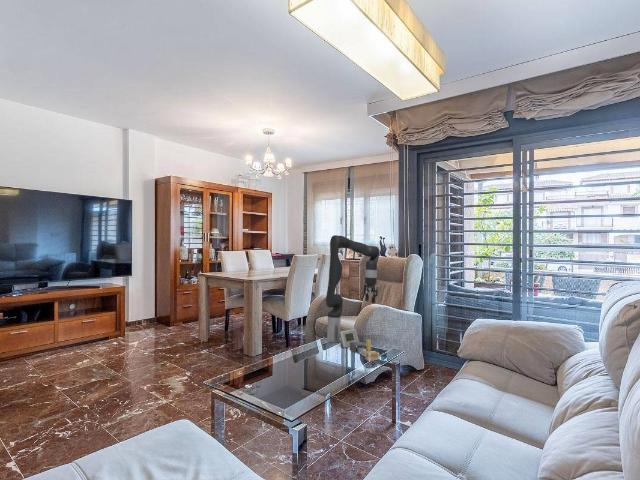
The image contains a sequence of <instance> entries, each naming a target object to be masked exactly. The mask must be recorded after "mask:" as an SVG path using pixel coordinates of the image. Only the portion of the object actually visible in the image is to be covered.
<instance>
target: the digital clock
mask: <svg viewBox="0 0 640 480" xmlns="http://www.w3.org/2000/svg"><path fill="white" fill-rule="evenodd" d="M357 332H358V331H357V330H356V328H352V329H351V328H350V329H344V330H340V342H339V343H340V345H339V346H340V347H341V348H343V349H348V348H349V349H350V342H360V341H359V337H358V333H357Z"/></svg>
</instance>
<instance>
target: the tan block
mask: <svg viewBox="0 0 640 480" xmlns="http://www.w3.org/2000/svg"><path fill="white" fill-rule="evenodd" d="M377 359H379V360H380V352H378V351H376V350H371V351H369V352H365V356H364V360H366V361H367V362H375V361H374V360H377Z"/></svg>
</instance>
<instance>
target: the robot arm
mask: <svg viewBox="0 0 640 480" xmlns="http://www.w3.org/2000/svg"><path fill="white" fill-rule="evenodd" d="M329 249H330V250H329V254H330V255H329V268H328V270H329V271H328V284H327V291H326V297H325V305H326V306H327V307H328V308H332V309H331V310H330V311H329V312H327V331H326V333H327V335H326V341H327V342H329V343H340V342H341V338H340V332H341V322H342V321H341V319H342V316H341V315H342V313H343V296H342V295H341V294H339V293H336V288H337V286H338V284H339V283H340V280H341V279H342V277H343V266H342V265H343V264H342V262H341V259H340V257H339V249H340V250H341V249H348V250H351V251H352V252H354V253H357V254H361V255H363V256H364V257H368V258H369V260H366V262H365V271H364V272H365V273H364V274H365V275H364V284H363V294H364V296H365V298H364V301H365V302H368V301H369V298H370V295H371V304H375V303H376V298H377V297H378V291H379V289H378V286H376V285H377V281H378V275H377V274H378V269H377V268H378V262H379V258H380V253H381V252H380V247H378V246H375V245H367V244H366V243H364V242H363V243H362V242H360V241H354V240H352V239H350V238H347V237H346V236H344V235H337V234H335V235H332V236H331V237H330V241H329Z"/></svg>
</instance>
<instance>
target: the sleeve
mask: <svg viewBox="0 0 640 480" xmlns="http://www.w3.org/2000/svg"><path fill="white" fill-rule="evenodd" d="M356 347H362V348H364V349H365V346H364V343H362V342H360V341H359V342H350V347H349V351H350V352H353V353H357V352H356Z"/></svg>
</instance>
